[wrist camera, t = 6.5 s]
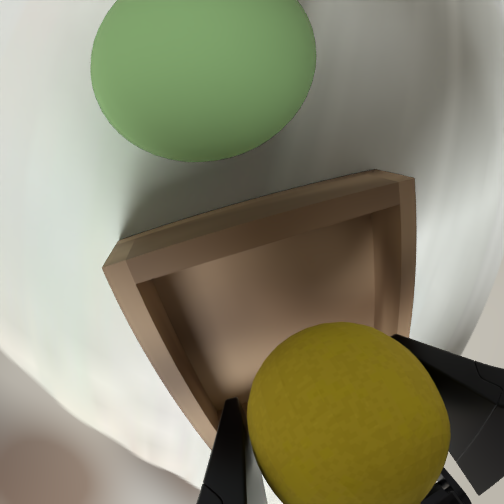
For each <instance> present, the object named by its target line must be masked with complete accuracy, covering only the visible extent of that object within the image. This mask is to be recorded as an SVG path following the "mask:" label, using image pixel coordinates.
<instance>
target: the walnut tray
mask: <svg viewBox="0 0 504 504" xmlns="http://www.w3.org/2000/svg"><path fill="white" fill-rule="evenodd" d="M102 269H103V272H104V274H105V276H106V278H107V281H108V283H109V285H110V287H111V289H112V291H113V293H114V296H115V298H116V300H117V302H118V304H119V306H120V308H121V310H122V312H123V314H124V316H125V318H126V319H127V321H128V323H129V325H130V327H131V329H132V331H133V333H134V334H135V336H136V338H137V340H138V342H139V343H140V345H141V347H142V349H143V350H144V352H145V354H146V356H147V357H148V359H149V361H150V362H151V364H152V366H153V367H154V369H155V371H156V372H157V374H158V375H159V377H160V379H161V380H162V382H163V383H164V385H165V386H166V388H167V390H168V391H169V393H170V394H171V396H172V397H173V399H174V400H175V402H176V403H177V405H178V406H179V407H180V409H181V410H182V412H183V413H184V415H185V416H186V417H187V419H188V420H189V422H190V423H191V424H192V426H193V427H194V428H195V430H196V431H197V432H198V434H199V435H200V436H201V438H202V439H203V440H204V442H205V443H206V444H207V445H208V447H209V448H210V449H211V450H212V448H213V444H214V440H215V437H216V433H217V429H218V425H219V422H220V418H221V414H222V410H223V407H224V403H225V400H226V399H229V398H233V397H238V399H239V401H240V403H241V405H242V407H243V410H244V412H245V415H246V418H247V406H248V400H249V396H250V391H251V387H252V383H253V380H254V378H255V376H256V374H257V372H258V370H259V369H260V367H261V365H262V364H263V362H264V360H265V359H266V358H267V357H268V355H269V354H270V353H271V352H272V351H273V350H274V349H275V348H276V347H277V346H278V345H279V344H281V343H282V342H283V341H285V340H286V339H287V338H289V337H290V336H291V335H293V334H295V333H297V332H299V331H301V330H303V329H305V328H308V327H312V326H315V325H318V324H323V323H333V322H350V323H356V324H362V325H366V326H370V327H373V328H375V329H377V330H379V331H381V332H383V333H384V334H386V335H388V336H392V335H394V334H399V335H402V336H405V337H407V338H409V333H410V326H411V317H412V308H413V298H414V286H415V269H416V195H415V179H414V178H412V177H408V176H404V175H399V174H395V173H391V172H386V171H382V170H377V169H373V170H369V171H364V172H360V173H355V174H351V175H346V176H342V177H338V178H333V179H329V180H325V181H321V182H317V183H313V184H309V185H305V186H301V187H297V188H293V189H289V190H285V191H281V192H277V193H273V194H270V195H266V196H262V197H259V198H255V199H251V200H248V201H244V202H240V203H237V204H233V205H230V206H226V207H223V208H220V209H216V210H213V211H209V212H206V213H203V214H199V215H196V216H193V217H189V218H186V219H183V220H180V221H176V222H173V223H170V224H167V225H164V226H161V227H158V228H155V229H151V230H148V231H145V232H142V233H139V234H136V235H133V236H130V237H127V238H125V239H122V240H119V241H118V242H117V244H116V245H115V247H114V249H113V250H112V252H111V253H110V255H109V257H108V258H107V260H106V262H105V263H104V265H103V267H102Z"/></svg>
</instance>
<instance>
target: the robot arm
mask: <svg viewBox="0 0 504 504" xmlns="http://www.w3.org/2000/svg"><path fill="white" fill-rule="evenodd" d="M390 337H391V338H393V339H395V340H396V341H398V342H399V343H401V344H402V345H403V346H405V347H406V348H407V349H408V350H409V351H410V352H411V353H412V354H413V355H415V357H416V358H417V359H418V360H419V361H420V362H421V364H422V365H423V366H424V368H425V369H426V370H427V372H428V373H429V375H430V377H431V378H432V380H433V382H434V384H435V385H436V387H437V389H438V391H439V393H440V396H441V398H442V400H443V402H444V405H445V407H446V410H447V413H448V417H449V422H450V435H451V437H450V445H449V452H450V454H451V455H452V457H453V458H454V460H455V461H456V463H457V464H458V466H459V467H460V468H461V470H462V472H463V473H464V475H465V476H466V478H467V479H468V480H469V482H470V483H471V485H472V487H473V488H474V490H475V491H476V493H477V494H478V495H481V494H482V493H483V492H485V491H486V490H487V489H489V488H490V487H491V486H493V485H494V484H495V483H496V482H498V481H499V480H500V479H501V478H503V477H504V369H502V368H498V367H494V366H490V365H487V364H483V363H480V362H477V361H474V360H471V359H468V358H465V357H462V356H459V355H456V354H453V353H450V352H447V351H444V350H442V349H439V348H436V347H433V346H430V345H427V344H424V343H421V342H419V341H416V340H413V339H410V338H407V337H405V336H402V335H399V334H394V335H392V336H390ZM437 481H438V482H437V483H435V484H434V486H433V487H432V489H431V490H430V491H429V493H428V494H427V495H426V496H425V498H424V499H423V500H422V501H421V504H471V501H470V499H469V498H468V496H467V495H466V493H465V492H464V491H463V490H462V488H461V487H460V486H459V485H458V484H457V482H456V481H455V480H454V479H453V478H452V476H451V475H450V474H449V473H448V472H447V471H446V469H445V468H444V467H443V469H442V471H441V473H440V476H439V478H438V479H437ZM203 483H204V484H202V487H201V491H200V494H199V497H198V500H197V504H268V503H267V498H266V494H265V489H264V484H263V479H262V473H261V471H260V469H259V467H258V464H257V462H256V459H255V456H254V454H253V450H252V446H251V441H250V436H249V430H248V423H247V418H246V415H245V412H244V410H243V407H242V405H241V403H240V401H239V399H238V397H233V398H229V399H226V400H225V403H224V407H223V410H222V414H221V418H220V422H219V425H218V429H217V433H216V437H215V440H214V444H213V448H212V451H211V455H210V459H209V462H208V466H207V470H206V473H205V477H204V480H203Z"/></svg>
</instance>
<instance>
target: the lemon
mask: <svg viewBox="0 0 504 504" xmlns="http://www.w3.org/2000/svg"><path fill="white" fill-rule="evenodd" d="M247 423H248V430H249V436H250V441H251V446H252V450H253V454H254V456H255V459H256V462H257V464H258V467H259V469H260V471H261V473H262V475H263V476H264V478H265V480H266V482H267V483H268V485H269V486H270V488H271V489H272V490H273V492H274V493H275V495H276V496H277V497H278V498H279V499H280V501H281V502H282V503H283V504H421V501H422V500H423V499H424V498H425V496H426V495H427V494H428V493H429V491H430V490H431V489H432V487H433V486H434V484H435V483H436V481H437V479H438V478H439V476H440V473H441V471H442V469H443V467H444V464H445V461H446V458H447V455H448V451H449V445H450V437H451V435H450V422H449V417H448V413H447V410H446V407H445V405H444V402H443V400H442V398H441V396H440V393H439V391H438V389H437V387H436V385H435V384H434V382H433V380H432V378H431V377H430V375H429V373H428V372H427V370H426V369H425V368H424V366H423V365H422V364H421V362H420V361H419V360H418V359H417V358H416V357H415V355H413V354H412V353H411V352H410V351H409V350H408V349H407V348H406V347H405V346H403V345H402V344H401V343H399V342H398V341H396V340H395V339H393V338H391V337H390V336H388V335H386V334H384V333H383V332H381V331H379V330H377V329H375V328H373V327H370V326H366V325H362V324H356V323H350V322H333V323H323V324H318V325H315V326H312V327H308V328H305V329H303V330H301V331H299V332H297V333H295V334H293V335H291V336H290V337H289V338H287V339H286V340H285V341H283V342H282V343H281V344H279V345H278V346H277V347H276V348H275V349H274V350H273V351H272V352H271V353H270V354H269V355H268V357H267V358H266V359H265V360H264V362H263V364H262V365H261V367H260V369H259V370H258V372H257V374H256V376H255V378H254V380H253V383H252V387H251V391H250V396H249V400H248V406H247Z"/></svg>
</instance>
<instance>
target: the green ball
mask: <svg viewBox="0 0 504 504" xmlns="http://www.w3.org/2000/svg"><path fill="white" fill-rule="evenodd" d="M315 67H316V46H315V38H314V34H313V30H312V27H311V24H310V22H309V19H308V17H307V15H306V13H305V11H304V10H303V8H302V6H301V5H300V4H299V2H298V1H297V0H117V1H116V2H115V3H114V5H113V6H112V7H111V9H110V10H109V11H108V13H107V15H106V16H105V18H104V20H103V22H102V23H101V25H100V27H99V29H98V32H97V35H96V37H95V40H94V44H93V49H92V54H91V80H92V86H93V90H94V93H95V97H96V99H97V101H98V104H99V106H100V108H101V110H102V112H103V114H104V115H105V117H106V118H107V120H108V121H109V123H110V124H111V125H112V126H113V127H114V128H115V129H116V130H117V131H118V133H119V134H121V135H122V136H123V137H124V138H126V139H127V140H128V141H129V142H131V143H132V144H134V145H136V146H137V147H139V148H141V149H143V150H145V151H147V152H150V153H152V154H154V155H157V156H160V157H164V158H167V159H171V160H177V161H184V162H206V161H216V160H221V159H226V158H230V157H233V156H237V155H240V154H243V153H245V152H247V151H250V150H252V149H254V148H256V147H258V146H260V145H261V144H263V143H264V142H266V141H268V140H269V139H271V138H272V137H273V136H274V135H276V134H277V133H278V132H279V131H281V130H282V129H283V128H284V126H285V125H286V124H287V123H288V122H289V121H290V120H291V119H292V118H293V117H294V116H295V114H296V113H297V112H298V110H299V109H300V108H301V106H302V104H303V102H304V100H305V99H306V97H307V94H308V92H309V89H310V86H311V84H312V81H313V77H314V72H315Z"/></svg>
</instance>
